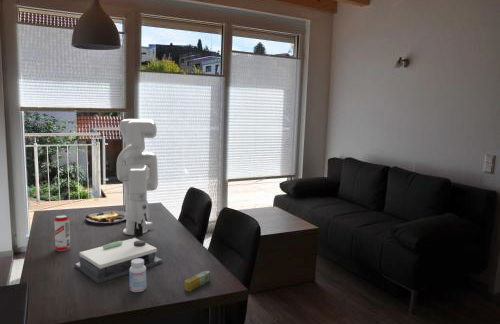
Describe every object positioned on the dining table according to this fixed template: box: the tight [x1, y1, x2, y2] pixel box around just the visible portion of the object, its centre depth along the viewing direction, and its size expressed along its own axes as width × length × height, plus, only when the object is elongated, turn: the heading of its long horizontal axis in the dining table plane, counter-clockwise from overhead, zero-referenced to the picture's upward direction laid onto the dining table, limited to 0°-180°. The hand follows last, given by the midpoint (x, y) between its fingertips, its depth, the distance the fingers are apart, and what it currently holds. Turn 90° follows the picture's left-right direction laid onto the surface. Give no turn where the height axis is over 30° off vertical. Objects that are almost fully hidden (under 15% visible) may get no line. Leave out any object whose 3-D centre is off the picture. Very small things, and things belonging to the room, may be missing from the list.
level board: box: [79, 237, 158, 269], centre depth 174 cm, size 26×18×3 cm
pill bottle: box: [128, 258, 147, 293], centre depth 152 cm, size 6×6×11 cm
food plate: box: [84, 210, 126, 224], centre depth 238 cm, size 25×23×4 cm
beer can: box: [53, 214, 71, 252], centre depth 189 cm, size 6×6×16 cm
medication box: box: [183, 270, 211, 292], centre depth 158 cm, size 12×3×4 cm, turn 144°
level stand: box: [74, 252, 163, 284], centre depth 174 cm, size 29×21×5 cm
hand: (138, 236), depth 180 cm, fingers closed
